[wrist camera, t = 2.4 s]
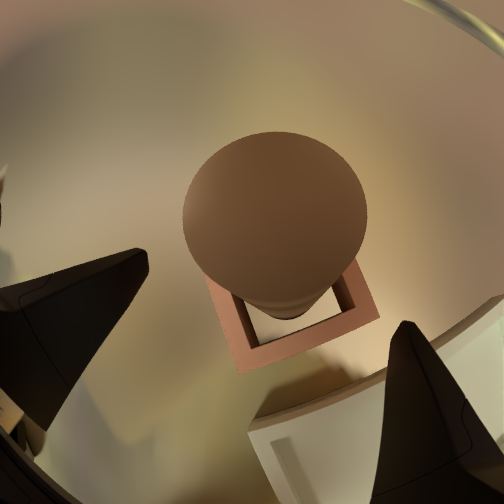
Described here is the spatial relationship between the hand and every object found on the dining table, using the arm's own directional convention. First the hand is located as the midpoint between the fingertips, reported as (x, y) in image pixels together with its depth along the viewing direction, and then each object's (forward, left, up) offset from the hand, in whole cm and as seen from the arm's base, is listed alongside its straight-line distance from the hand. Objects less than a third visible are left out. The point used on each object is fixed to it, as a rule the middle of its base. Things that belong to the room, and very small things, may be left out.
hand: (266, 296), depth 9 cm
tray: (+6, -13, -9) cm, 17 cm away
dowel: (+1, +1, -9) cm, 9 cm away
